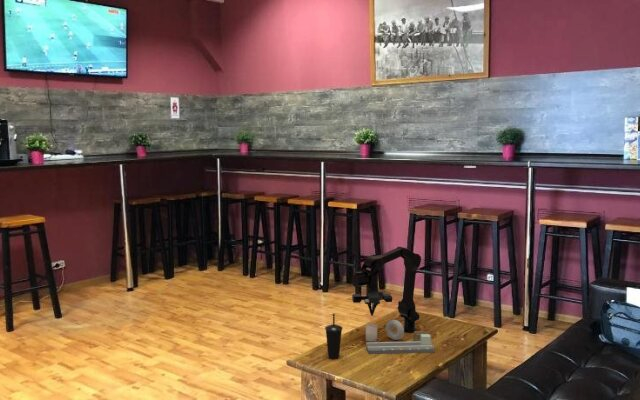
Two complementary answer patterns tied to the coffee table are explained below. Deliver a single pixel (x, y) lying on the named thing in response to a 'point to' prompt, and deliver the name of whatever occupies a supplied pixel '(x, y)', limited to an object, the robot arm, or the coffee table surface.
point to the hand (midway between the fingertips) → (371, 315)
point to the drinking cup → (333, 339)
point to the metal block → (418, 335)
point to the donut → (398, 326)
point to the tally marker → (425, 339)
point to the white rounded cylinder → (371, 332)
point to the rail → (398, 347)
